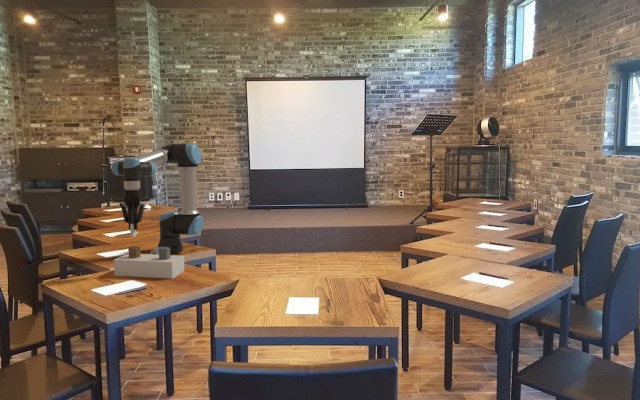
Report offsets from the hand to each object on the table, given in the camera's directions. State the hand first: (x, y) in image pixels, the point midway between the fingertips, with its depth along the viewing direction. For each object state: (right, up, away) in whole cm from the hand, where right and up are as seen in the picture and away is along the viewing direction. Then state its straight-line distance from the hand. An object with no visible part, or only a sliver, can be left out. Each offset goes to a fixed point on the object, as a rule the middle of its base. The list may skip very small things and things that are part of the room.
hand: (133, 236), depth 237 cm
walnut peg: (0, -12, +2) cm, 13 cm away
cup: (+6, -17, +20) cm, 27 cm away
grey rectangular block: (+8, -19, +1) cm, 20 cm away
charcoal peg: (+16, -13, 0) cm, 20 cm away
